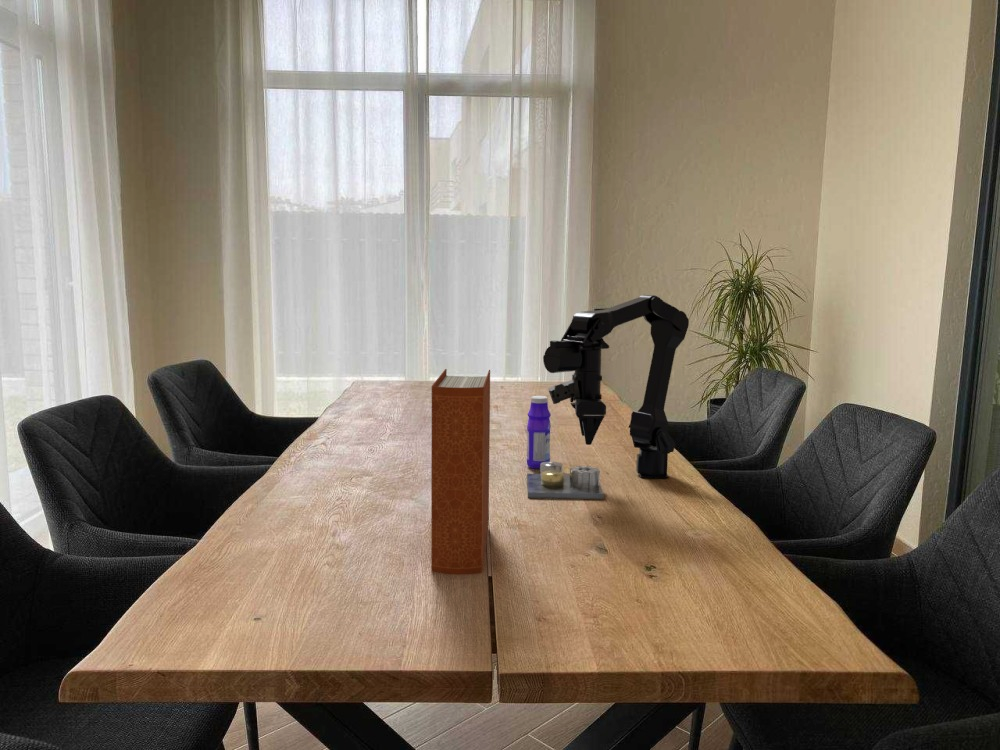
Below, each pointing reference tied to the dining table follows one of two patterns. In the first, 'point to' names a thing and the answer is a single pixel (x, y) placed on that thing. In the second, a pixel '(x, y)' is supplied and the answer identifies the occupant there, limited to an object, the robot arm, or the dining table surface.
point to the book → (460, 473)
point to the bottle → (538, 432)
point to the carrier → (557, 484)
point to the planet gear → (584, 477)
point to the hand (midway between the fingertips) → (586, 440)
